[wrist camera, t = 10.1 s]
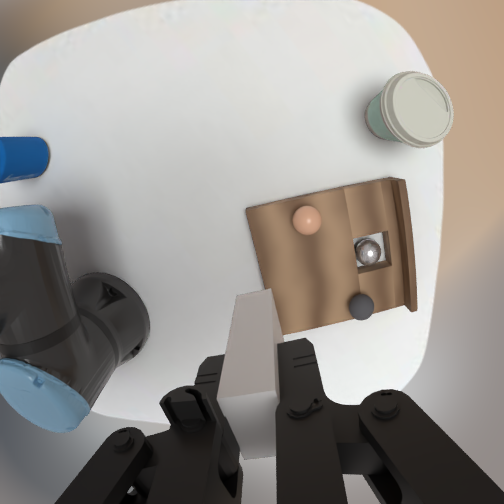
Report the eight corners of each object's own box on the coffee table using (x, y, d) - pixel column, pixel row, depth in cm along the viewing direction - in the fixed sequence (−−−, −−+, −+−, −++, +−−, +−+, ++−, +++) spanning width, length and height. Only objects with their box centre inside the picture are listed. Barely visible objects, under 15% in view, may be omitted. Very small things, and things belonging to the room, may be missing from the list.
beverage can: (30, 184, 42) (-20, 195, 30) (19, 150, 40) (-32, 154, 29) (56, 164, 41) (5, 170, 30) (44, 129, 39) (-8, 127, 28)
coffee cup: (420, 140, 38) (467, 137, 27) (368, 157, 40) (404, 157, 28) (399, 82, 36) (440, 62, 25) (345, 97, 37) (374, 75, 26)
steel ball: (352, 265, 43) (366, 271, 40) (349, 241, 42) (362, 246, 39) (373, 257, 44) (387, 263, 40) (369, 234, 43) (384, 238, 39)
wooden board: (276, 327, 47) (277, 345, 42) (246, 208, 42) (244, 214, 37) (404, 296, 45) (417, 310, 40) (390, 176, 40) (405, 179, 35)
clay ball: (294, 234, 40) (297, 241, 37) (288, 207, 39) (290, 211, 36) (321, 228, 40) (326, 234, 37) (316, 201, 39) (321, 205, 36)
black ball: (347, 315, 43) (353, 327, 40) (344, 293, 42) (350, 304, 39) (371, 309, 43) (378, 321, 39) (368, 287, 42) (376, 297, 39)
